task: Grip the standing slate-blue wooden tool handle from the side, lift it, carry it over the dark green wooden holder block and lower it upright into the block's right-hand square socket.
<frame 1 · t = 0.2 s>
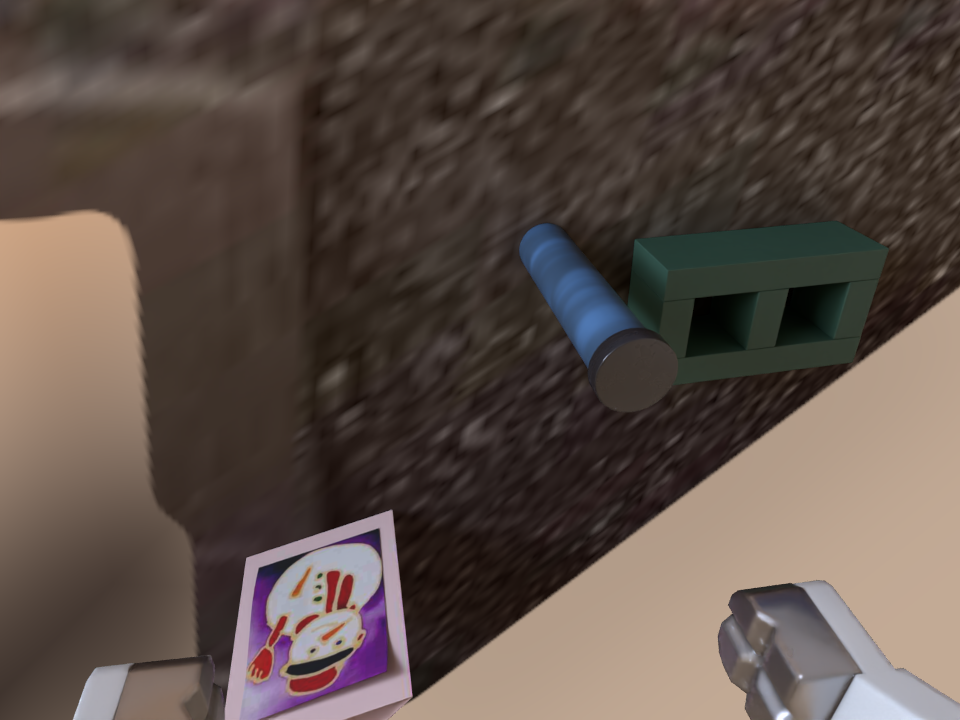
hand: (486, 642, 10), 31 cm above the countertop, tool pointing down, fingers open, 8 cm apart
holder: (727, 286, 46), on the countertop
greeting card: (333, 556, 52), on the countertop
handle: (544, 247, 41), on the countertop
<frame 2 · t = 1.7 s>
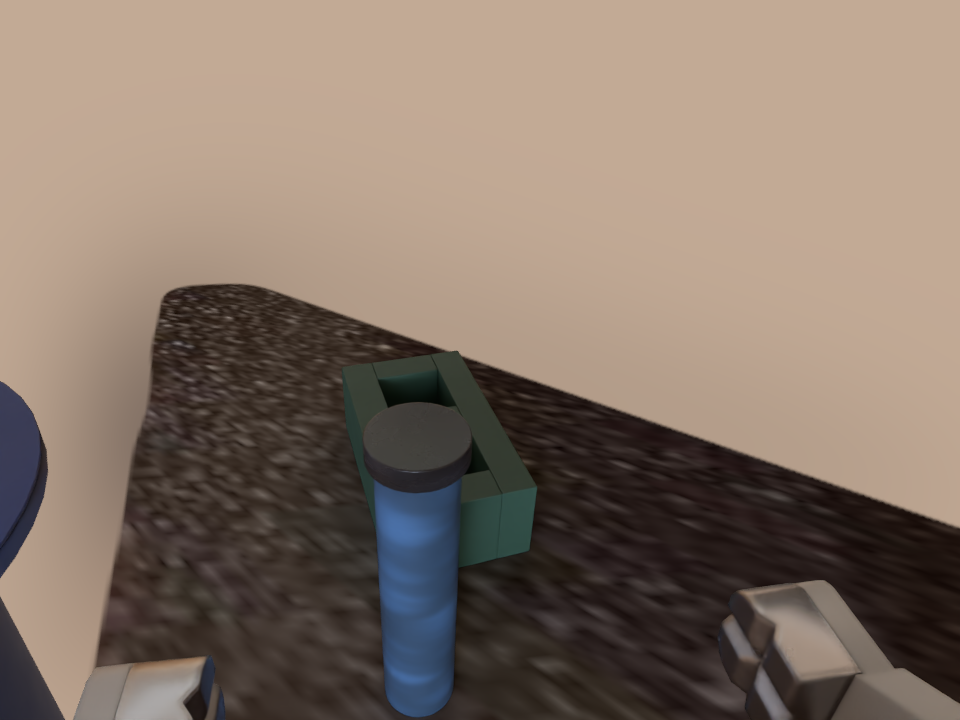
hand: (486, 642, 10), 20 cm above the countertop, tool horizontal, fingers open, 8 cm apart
holder: (428, 482, 43), on the countertop
handle: (419, 684, 31), on the countertop
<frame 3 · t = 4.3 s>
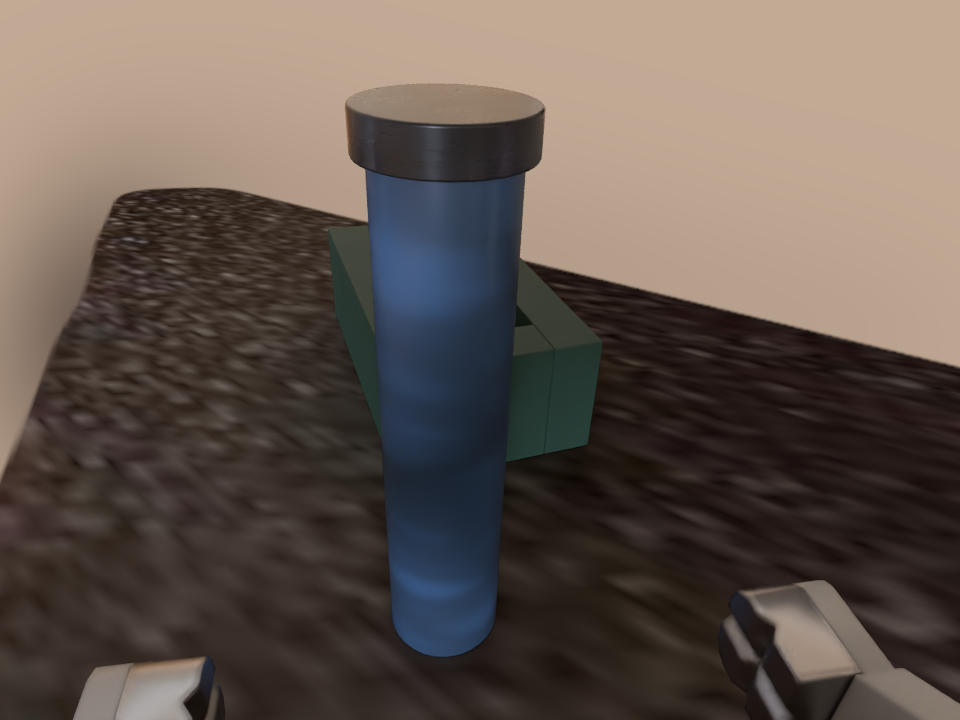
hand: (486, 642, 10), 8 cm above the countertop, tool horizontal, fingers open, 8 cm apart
holder: (444, 371, 32), on the countertop
handle: (444, 611, 21), on the countertop
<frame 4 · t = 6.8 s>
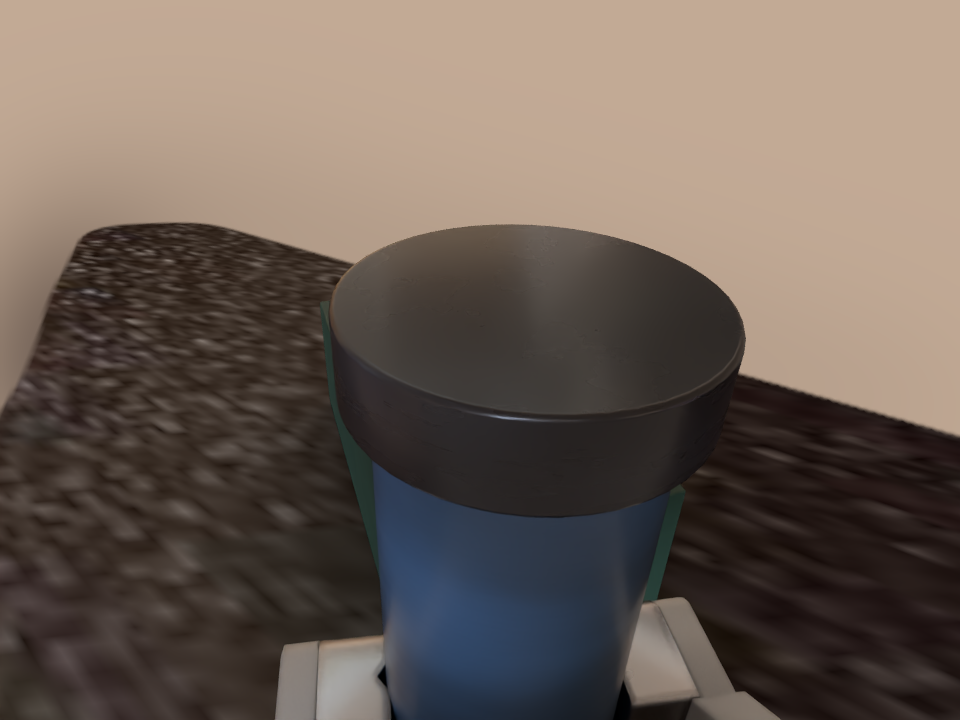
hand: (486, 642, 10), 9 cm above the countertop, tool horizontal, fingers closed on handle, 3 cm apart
holder: (464, 486, 26), on the countertop
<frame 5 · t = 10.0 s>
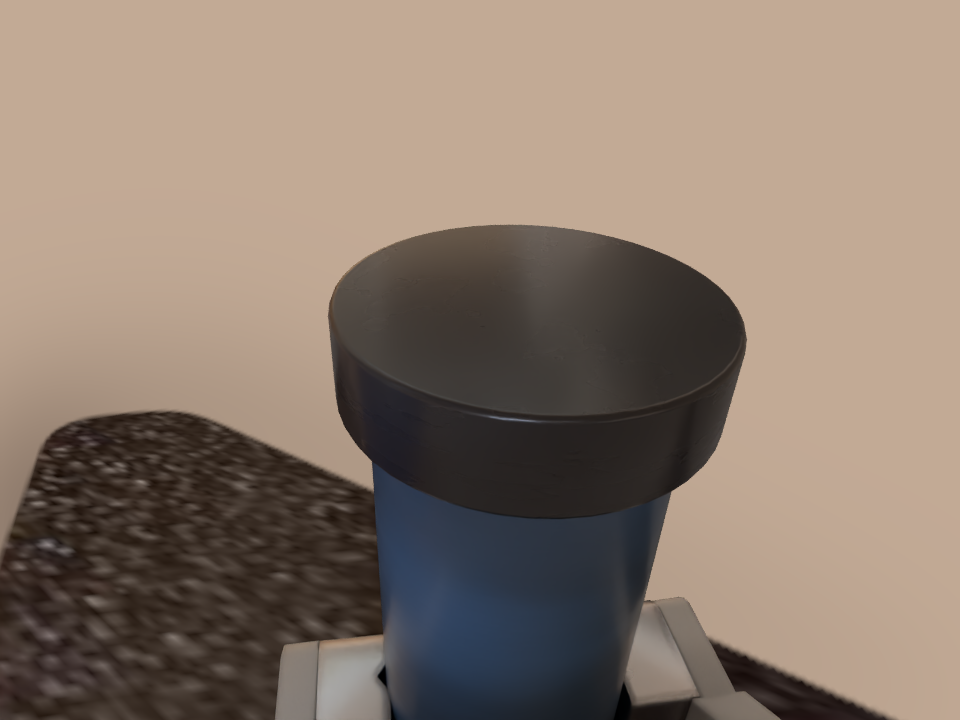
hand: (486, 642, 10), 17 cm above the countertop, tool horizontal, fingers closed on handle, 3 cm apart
when the fingers open (8 cm above the countertop, at t = 13.4 s): handle stays where it is, resting in holder.
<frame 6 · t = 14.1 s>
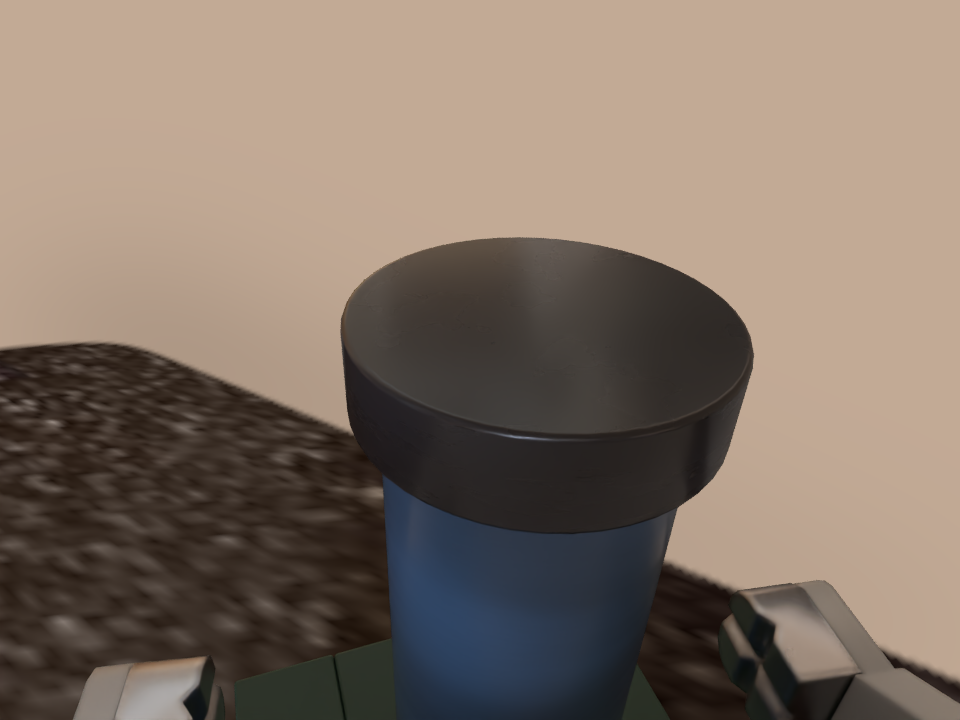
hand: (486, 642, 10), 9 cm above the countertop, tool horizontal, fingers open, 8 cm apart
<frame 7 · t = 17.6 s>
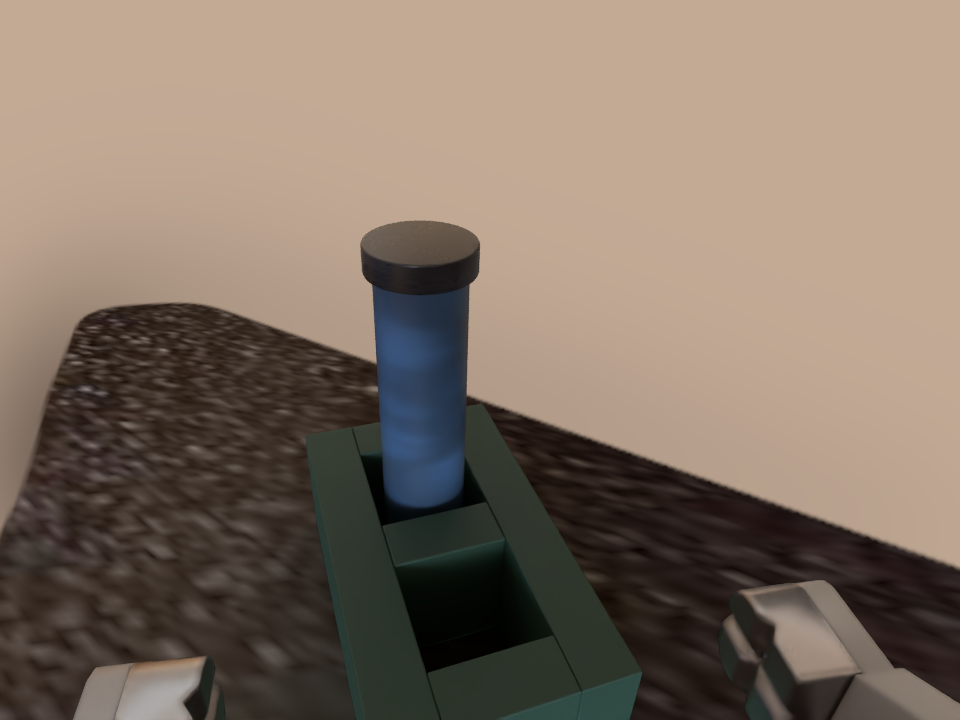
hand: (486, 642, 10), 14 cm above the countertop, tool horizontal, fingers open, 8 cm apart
holder: (442, 620, 27), on the countertop
handle: (425, 563, 29), resting in holder
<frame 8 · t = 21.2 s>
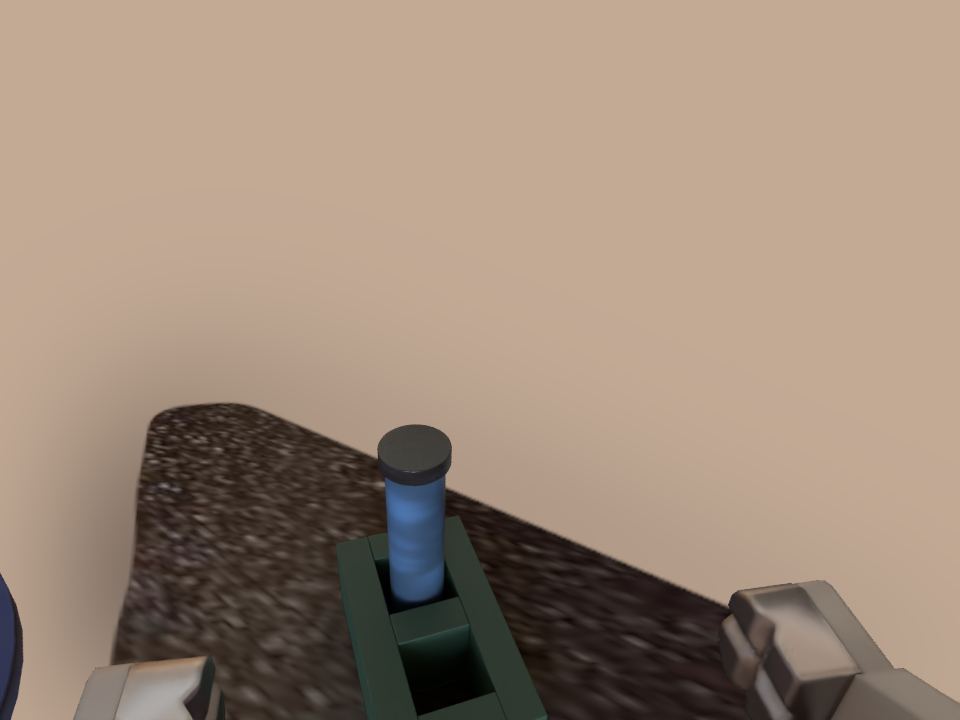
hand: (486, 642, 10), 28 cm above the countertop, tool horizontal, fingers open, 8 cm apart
holder: (429, 672, 40), on the countertop
handle: (418, 630, 42), resting in holder
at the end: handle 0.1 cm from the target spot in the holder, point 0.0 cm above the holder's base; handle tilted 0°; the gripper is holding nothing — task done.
